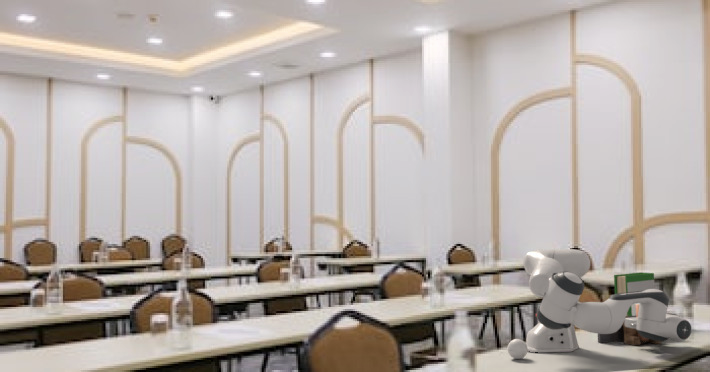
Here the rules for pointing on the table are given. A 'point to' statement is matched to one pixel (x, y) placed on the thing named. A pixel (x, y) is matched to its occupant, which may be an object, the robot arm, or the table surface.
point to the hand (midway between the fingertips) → (640, 319)
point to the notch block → (634, 337)
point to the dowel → (637, 316)
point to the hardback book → (633, 284)
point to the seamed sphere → (517, 349)
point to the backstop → (613, 335)
